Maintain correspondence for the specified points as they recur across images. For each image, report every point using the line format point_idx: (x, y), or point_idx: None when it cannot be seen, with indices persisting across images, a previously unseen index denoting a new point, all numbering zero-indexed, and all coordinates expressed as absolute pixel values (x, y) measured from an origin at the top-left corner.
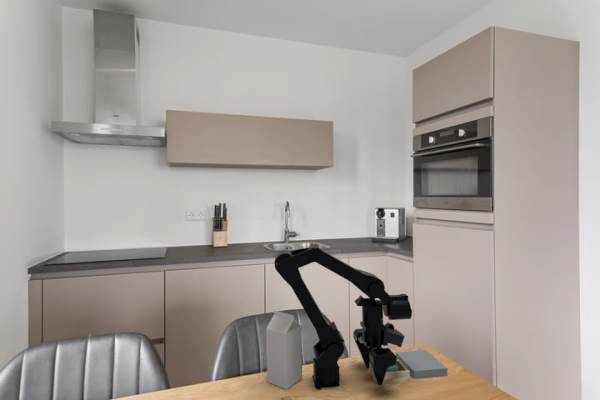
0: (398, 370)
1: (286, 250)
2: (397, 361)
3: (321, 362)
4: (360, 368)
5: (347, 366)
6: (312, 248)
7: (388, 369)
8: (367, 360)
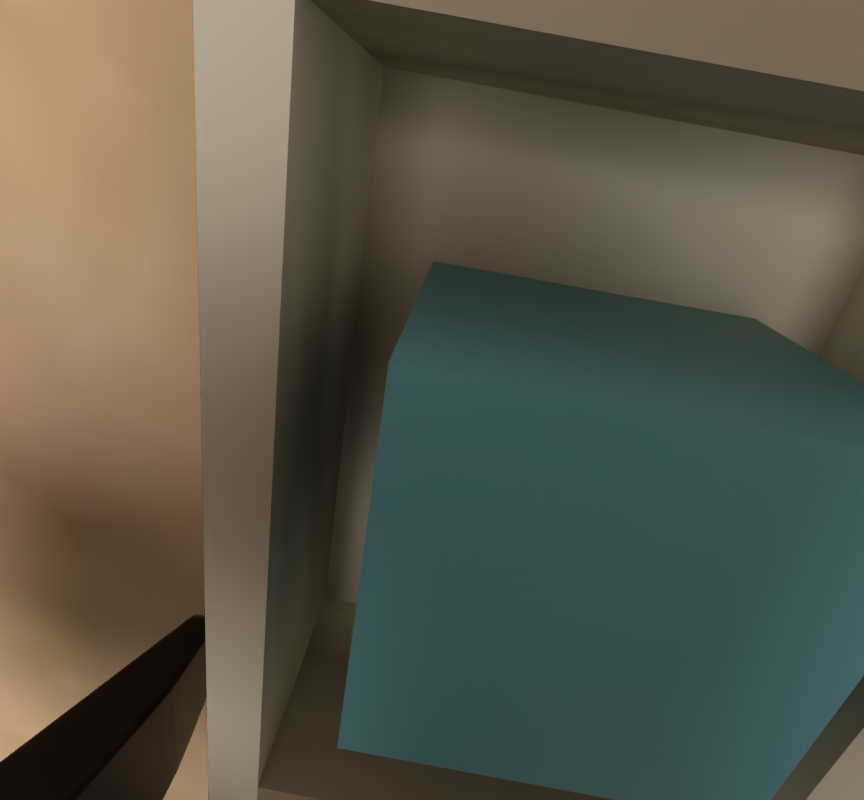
0: None
1: None
2: (310, 18)
3: None
4: (118, 621)
5: (52, 718)
6: None
7: (793, 727)
8: (132, 796)
